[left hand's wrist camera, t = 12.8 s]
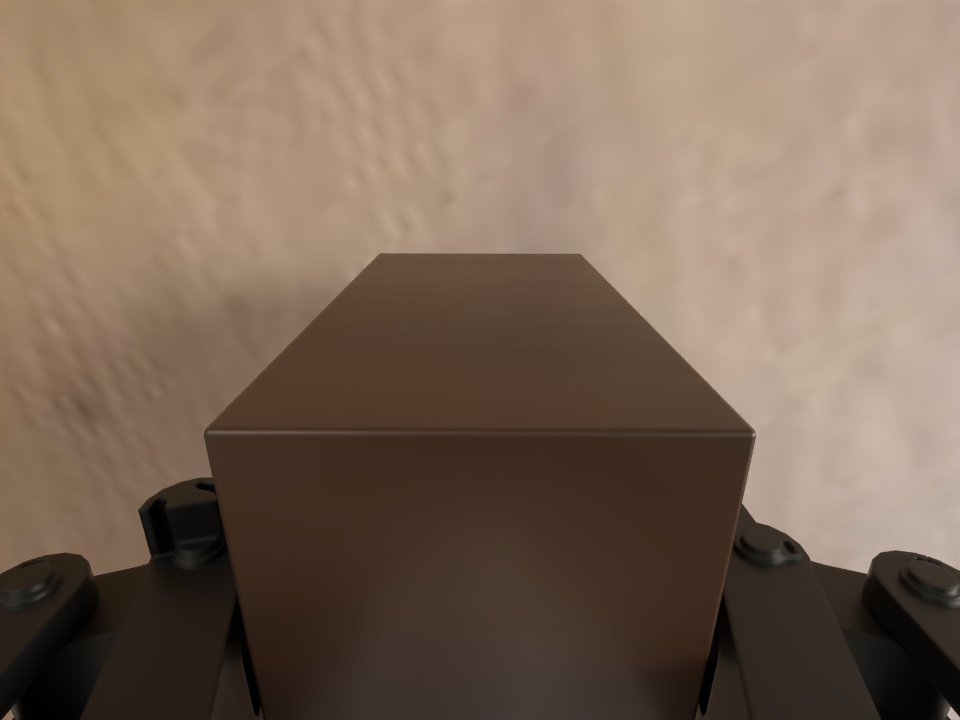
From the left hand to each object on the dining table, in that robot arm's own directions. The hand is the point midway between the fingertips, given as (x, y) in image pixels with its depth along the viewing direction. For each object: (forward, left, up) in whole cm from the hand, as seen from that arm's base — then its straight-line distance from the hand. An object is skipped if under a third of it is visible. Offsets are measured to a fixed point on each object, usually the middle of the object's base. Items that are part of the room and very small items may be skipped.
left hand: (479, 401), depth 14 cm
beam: (+11, 0, 0) cm, 11 cm away
